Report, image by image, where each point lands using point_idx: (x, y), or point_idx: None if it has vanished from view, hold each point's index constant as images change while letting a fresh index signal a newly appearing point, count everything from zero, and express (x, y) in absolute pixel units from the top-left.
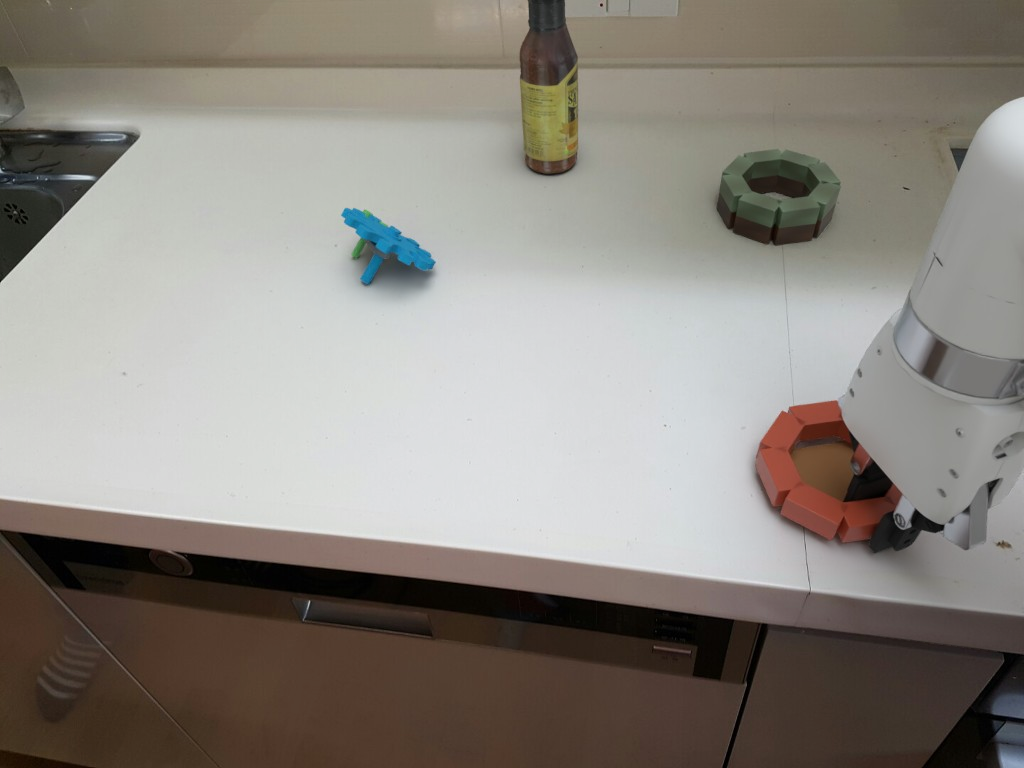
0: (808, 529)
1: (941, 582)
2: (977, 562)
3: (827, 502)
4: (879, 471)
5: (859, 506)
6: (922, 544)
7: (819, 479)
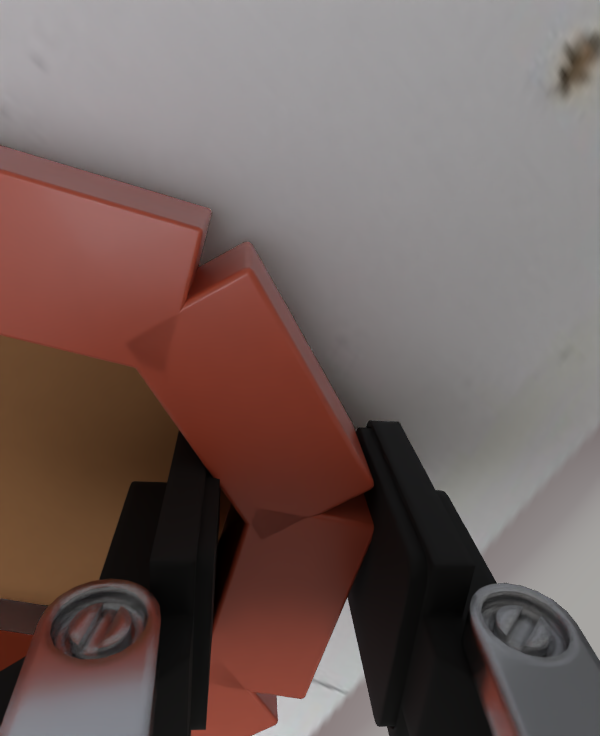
0: None
1: (540, 395)
2: (565, 229)
3: None
4: (185, 720)
5: (242, 632)
6: (407, 350)
7: (20, 505)
